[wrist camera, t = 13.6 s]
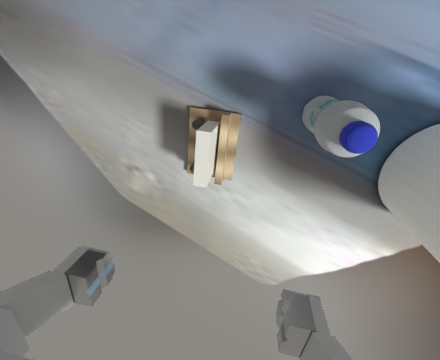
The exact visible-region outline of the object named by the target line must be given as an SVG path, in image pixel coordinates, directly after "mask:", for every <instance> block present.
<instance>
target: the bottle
mask: <svg viewBox="0 0 440 360" xmlns="http://www.w3.org/2000/svg"><path fill="white" fill-rule="evenodd" d="M302 120H303V123H304V125H305V126H306V128H307V129H308V130H309V131H311V132H312V133H313V134H314V135H315V138H316V140H317V141H318V143H319V145H320V146H321V147H322V148H323V149H325V150H326V151H329V152H331V153H333V154H335V155H337V156H340V157H355V156H358V155H360V154H363V153H365V152H367V151H369V150H370V149H372V147H374V145H375V144H376V142H377V139H378V136H379V133H380V122H379V120H378V118H377V116H376V115H375V113H373V112H372V111H371V110H369V109H368V108H367V107H366V106H365V105H363V104H361V103H359V102H356V101H349V100H343V101H339V100H337V99H336V98H333V97H331V96H318V97H315V98H314V99H312V100H311V101H310V102H309V103H307V104H306V106H305V107H304V110H303V115H302Z"/></svg>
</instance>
